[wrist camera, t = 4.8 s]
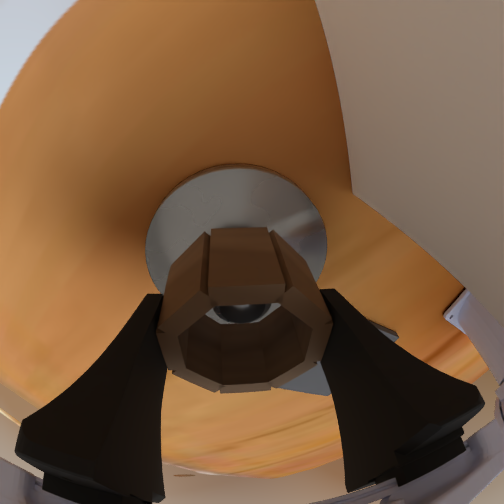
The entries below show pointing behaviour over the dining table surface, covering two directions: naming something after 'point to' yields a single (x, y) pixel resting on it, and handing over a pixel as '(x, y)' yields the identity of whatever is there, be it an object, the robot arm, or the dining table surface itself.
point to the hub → (234, 223)
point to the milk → (428, 125)
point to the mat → (315, 377)
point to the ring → (242, 293)
